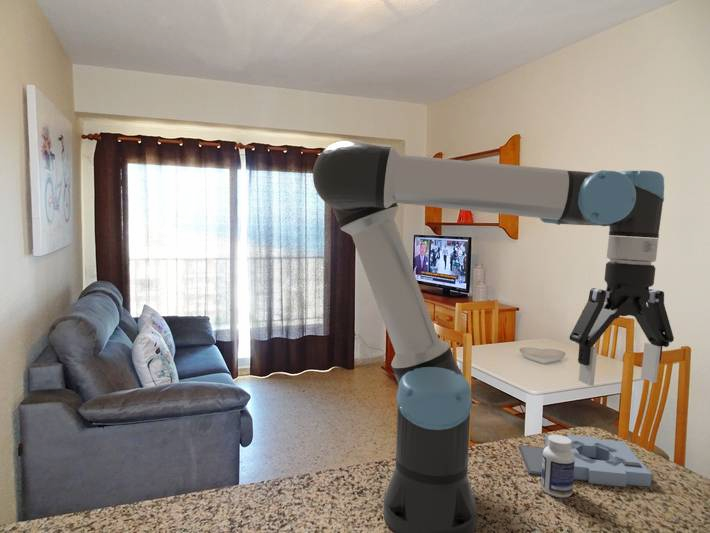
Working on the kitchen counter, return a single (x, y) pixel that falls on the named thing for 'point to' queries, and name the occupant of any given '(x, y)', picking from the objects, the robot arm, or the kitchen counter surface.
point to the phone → (532, 459)
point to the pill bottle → (558, 467)
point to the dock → (607, 462)
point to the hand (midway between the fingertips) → (618, 381)
